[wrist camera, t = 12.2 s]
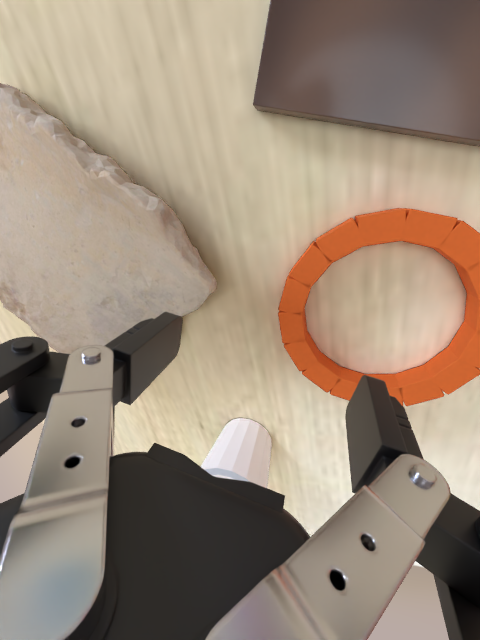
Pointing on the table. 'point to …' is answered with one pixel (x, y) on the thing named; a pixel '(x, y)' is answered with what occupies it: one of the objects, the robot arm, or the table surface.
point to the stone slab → (84, 237)
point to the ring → (376, 228)
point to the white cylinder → (241, 453)
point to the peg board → (375, 65)
